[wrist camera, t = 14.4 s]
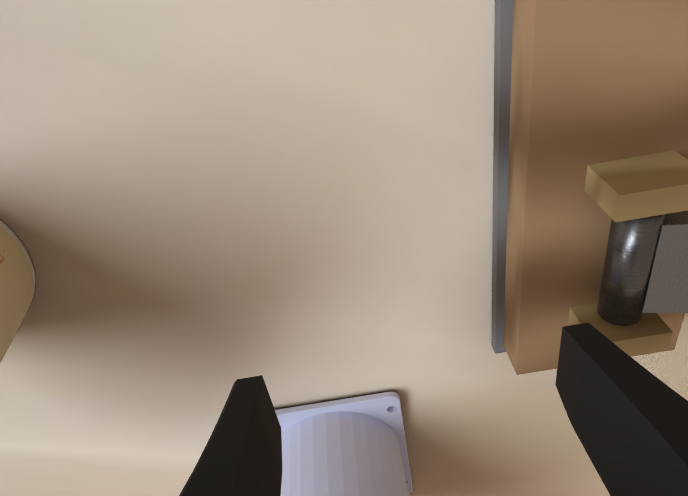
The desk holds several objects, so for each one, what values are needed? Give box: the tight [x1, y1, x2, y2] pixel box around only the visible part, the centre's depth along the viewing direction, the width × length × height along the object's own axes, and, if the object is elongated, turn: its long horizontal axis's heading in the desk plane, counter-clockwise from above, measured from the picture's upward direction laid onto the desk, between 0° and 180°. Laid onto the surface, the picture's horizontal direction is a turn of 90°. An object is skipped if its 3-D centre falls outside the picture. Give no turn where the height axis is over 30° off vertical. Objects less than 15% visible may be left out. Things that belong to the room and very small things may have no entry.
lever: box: [597, 210, 688, 326], centre depth 19 cm, size 5×2×5 cm
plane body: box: [492, 0, 688, 375], centre depth 18 cm, size 22×8×5 cm, turn 9°
